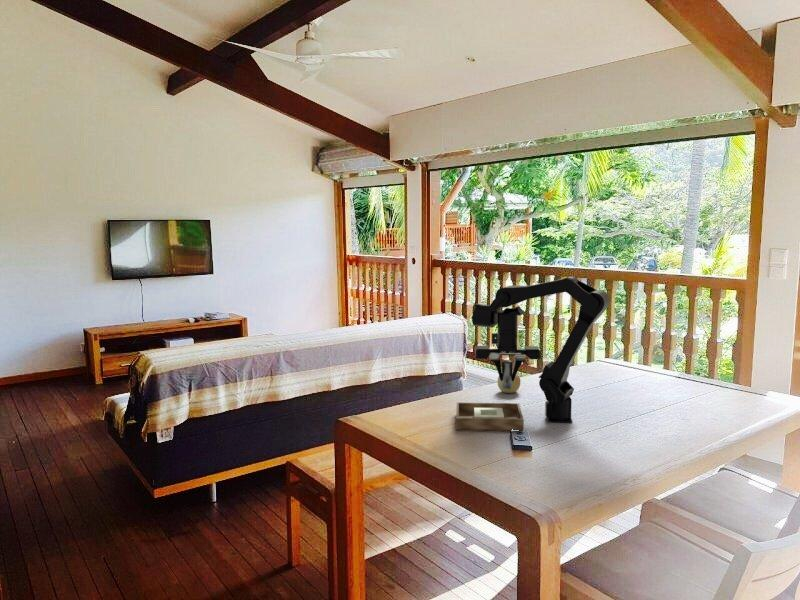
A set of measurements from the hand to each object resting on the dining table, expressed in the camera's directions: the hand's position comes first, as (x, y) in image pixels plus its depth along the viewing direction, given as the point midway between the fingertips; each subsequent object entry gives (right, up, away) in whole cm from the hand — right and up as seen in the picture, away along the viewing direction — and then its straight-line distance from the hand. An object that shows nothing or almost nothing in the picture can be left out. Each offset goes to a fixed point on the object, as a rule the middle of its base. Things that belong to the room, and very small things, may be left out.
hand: (507, 380), depth 177 cm
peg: (0, -2, 0) cm, 2 cm away
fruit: (+4, -7, +20) cm, 21 cm away
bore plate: (-7, -11, -9) cm, 15 cm away
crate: (-7, -11, -9) cm, 15 cm away
